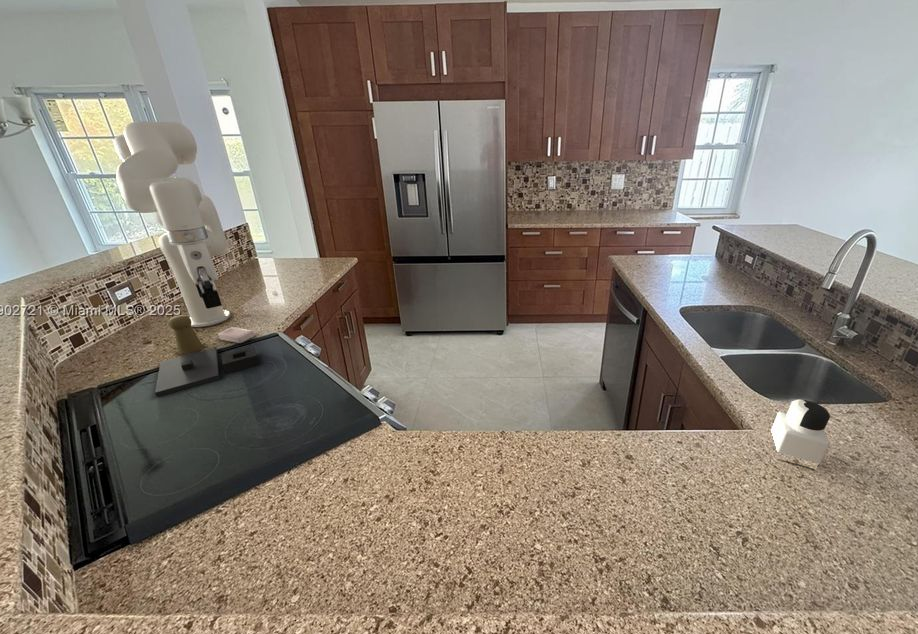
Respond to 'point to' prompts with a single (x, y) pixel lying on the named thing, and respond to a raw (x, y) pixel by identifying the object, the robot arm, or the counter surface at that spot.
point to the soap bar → (236, 335)
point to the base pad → (187, 371)
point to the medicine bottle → (802, 431)
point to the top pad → (240, 359)
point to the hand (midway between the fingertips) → (210, 301)
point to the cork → (185, 335)
